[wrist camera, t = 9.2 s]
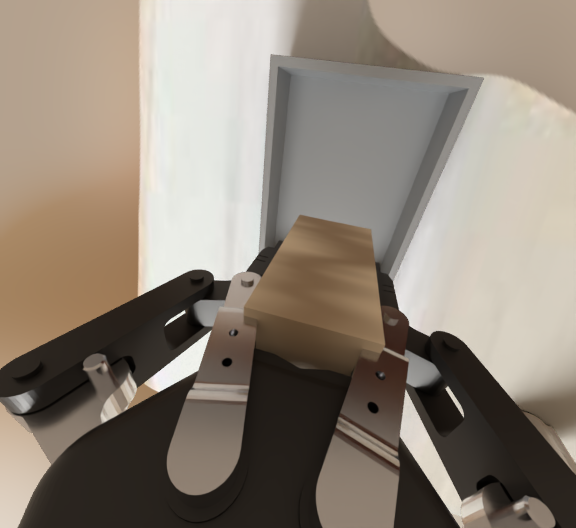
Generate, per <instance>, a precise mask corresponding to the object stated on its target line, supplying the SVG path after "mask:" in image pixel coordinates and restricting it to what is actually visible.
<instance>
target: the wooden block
mask: <svg viewBox="0 0 576 528" xmlns="http://www.w3.org/2000/svg"><path fill="white" fill-rule="evenodd" d="M244 316H247V317H251V318H255V319H258V322H257V336H256V349H260V350H263V351H266V352H270V353H273V354H276V355H278V356H279V357H281V358H283V359H285V360H286V361H288V362H290V363H292V364H293V365H295V366H297V367H299V368H303V369H320V370H331V371H334V372H337V373H341V374H344V375H348V376H350V375H351V373H352V371H353V368H354V366H355V364H356V362H357V359H358V357H359V355H360V353H361V351H362V348H363V349H366V350H370V351H373V352H377V353H381V352H382V350H383V348H384V346H385V339H384V331H383V323H382V315H381V307H380V298H379V290H378V282H377V274H376V266H375V257H374V249H373V241H372V233H371V229H367V228H362V227H357V226H353V225H348V224H343V223H338V222H333V221H328V220H323V219H319V218H314V217H309V216H304V215H299V217H298V218H297V220H296V221H295V223H294V225H293V226H292V228H291V230H290V231H289V233H288V235H287V236H286V238H285V240H284V241H283V243H282V245H281V246H280V248H279V249H278V251H277V253H276V254H275V256H274V258H273V259H272V261H271V263H270V264H269V266H268V268H267V269H266V271H265V273H264V274H263V276H262V278H261V279H260V281H259V282H258V284H257V286H256V287H255V289H254V291H253V292H252V294H251V296H250V297H249V299H248V301H247V302H246V304H245V306H244Z"/></svg>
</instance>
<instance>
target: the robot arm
mask: <svg viewBox="0 0 576 528" xmlns="http://www.w3.org/2000/svg"><path fill="white" fill-rule="evenodd" d="M282 243H283V241H281V240H279V241H278V243H277V244H276V246H275V247H274V248H273V247H269V246H268V247H266V248H264V249H263V250H261V252H260V253H259V254H258V256H257V257H256V259H255V260H254V261H253V263H252V264H251V265H250V267H249V268H248V270H247V271H246V272H241V273H238V274H236V275H235V276H234V277H233V278H232V280H231V281H215V280H214V277H213V274H212V273H210V272H209V271H206V270H192V271H189V272H187V273H185V274H183V275H181V276H179V277H177V278H175V279H173V280H171V281H169V282H167V283H165V284H163V285H161V286H159V287H157V288H155V289H153V290H151V291H149V292H147V293H145V294H143V295H141V296H139V297H137V298H135V299H133V300H131V301H129V302H127V303H125V304H123V305H121V306H119V307H117V308H115V309H113V310H111V311H109V312H107V313H105V314H103V315H101V316H99V317H97V318H95V319H93V320H91V321H90V322H87V323H85V324H83V325H81V326H79V327H77V328H75V329H73V330H71V331H69V332H67V333H65V334H64V335H61V336H59V337H57V338H55V339H54V340H51V341H49V342H48V343H46V344H43V345H41V346H39V347H38V348H36V349H34V350H32V351H30V352H28V353H26V354H24V355H22V356H20V357H18V358H16V359H14V360H13V361H11V362H9V363H8V364H6V365H5V366H4V367H3V368H1V370H0V402H1V403H2V404H3V405H4V406H5V407H6V410H7V412H8V413H9V414H10V415H11V416H12V417H13V418H15V420H16V421H18V422H19V423H20V424H21V425H22V426H23V427H24V428H25V429H26V430H27V431H28V432H30V433H33V435H34V436H35V438H36V440H37V441H38V443H39V445H40V446H41V448H42V450H43V451H44V453H45V454H46V456H47V458H48V460H49V461H50V463H51V467H50V468H49V469H48V470H47V472H46V473H45V474H44V476H43V477H42V479H41V480H40V482H39V484H38V485H37V487H36V489H35V491H34V492H33V495H32V497H31V499H30V501H29V504H28V506H27V508H26V510H25V513H24V515H23V518H22V520H21V522H20V524H19V526H18V528H460V527H459V525H458V524H457V522H456V521H455V519H454V518H453V516H452V514H451V513H450V511H449V510H448V508H447V507H446V505H445V504H444V502H443V501H442V499H441V498H440V496H439V495H438V493H437V492H436V490H435V489H434V487H433V486H432V484H431V483H430V481H429V480H428V478H427V477H426V475H425V474H424V472H423V471H422V469H421V468H420V466H419V465H418V463H417V462H416V460H415V459H414V457H413V456H412V454H411V453H410V451H409V450H408V448H407V447H406V445H405V444H404V442H403V441H402V439H401V438H400V429H401V421H402V413H403V405H404V397H405V389H406V390H407V392H408V394H409V396H410V398H411V400H412V402H413V404H414V406H415V408H416V410H417V412H418V414H419V416H420V418H421V420H422V422H423V424H424V426H425V428H426V430H427V432H428V434H429V436H430V438H431V440H432V442H433V444H434V446H435V448H436V450H437V452H438V454H439V456H440V458H441V460H442V462H443V464H444V466H445V468H446V470H447V472H448V474H449V476H450V478H451V480H452V482H453V484H454V486H455V488H456V490H457V492H458V494H459V496H460V498H461V500H462V505H461V517H462V522H463V527H462V528H576V463H575V462H574V460H573V458H572V457H571V455H570V454H569V452H568V451H567V449H566V447H565V446H564V444H563V443H562V441H561V439H560V438H559V436H558V435H557V433H556V432H555V430H554V428H553V427H551V426H548V425H545V424H544V423H543V421H542V420H541V419H539V418H538V417H536V416H534V415H532V414H530V413H527V412H523V411H521V409H520V408H519V407H518V406H517V405H516V403H515V402H514V401H513V400H512V399H511V398H510V396H509V395H508V394H507V393H506V392H505V390H504V389H503V388H502V387H501V386H500V384H499V383H498V382H497V381H496V380H495V379H494V377H493V376H492V375H491V374H490V373H489V371H488V370H487V369H486V368H485V367H484V365H483V364H482V363H481V362H480V361H479V360H478V358H477V357H476V356H475V355H474V354H473V352H472V351H471V350H470V349H469V348H468V347H467V345H466V344H465V343H464V342H463V341H461V340H460V339H459V338H457V337H456V336H454V335H452V334H449V333H447V332H443V331H436V332H433V333H432V334H431V336H430V337H429V336H427V335H425V334H423V333H421V332H419V331H417V330H415V329H413V328H412V327H410V326H409V321H408V319H407V317H406V316H405V315H404V314H403V313H402V312H401V311H399V308H398V303H397V299H396V294H395V290H394V285H393V280H392V279H391V278H390V277H389V275H388V274H386V273H381V271H380V264H379V262H375V266H376V274H377V282H378V290H379V298H380V307H381V315H382V323H383V331H384V339H385V346H384V348H383V350H382V352H381V353H377V352H373V351H370V350H366V349H363V348H362V351H361V353H360V355H359V357H358V359H357V362H356V364H355V366H354V368H353V371H352V373H351V375H350V376H348V375H344V374H341V373H337V372H334V371H331V370H320V369H303V368H299V367H297V366H295V365H293V364H292V363H290V362H288V361H286V360H285V359H283V358H281V357H279V356H278V355H276V354H273V353H270V352H266V351H263V350H260V349H256V336H257V322H258V319H255V318H251V317H247V316H244V306H245V304H246V302H247V301H248V299H249V297H250V296H251V294H252V292H253V291H254V289H255V287H256V286H257V284H258V282H259V281H260V279H261V278H262V276H263V274H264V273H265V271H266V269H267V268H268V266H269V264H270V263H271V261H272V259H273V258H274V256H275V254H276V253H277V251H278V249H279V248H280V246H281V245H282ZM184 310H185V312H186V313H185V314H183V315H182V316H180V317H179V318H177V319H176V320H174V321H172V322H171V323H169V324H168V325H166V326H165V324H166V323H167V322H168V321H169V320H170V319H171V318H173V317H174V316H176V315H178V314H179V313H181V312H182V311H184ZM164 326H165V327H164ZM211 330H212V331H211ZM210 331H211V334H210V337H209V340H208V343H207V346H206V349H205V352H204V355H203V358H202V361H201V364H200V367H199V371H197V372H195V373H193V374H192V375H190V376H188V377H186V378H184V379H182V380H181V381H179V382H177V383H175V384H173V385H171V386H170V387H168V388H166V389H164V390H162V391H160V392H159V393H157V394H155V395H153V396H151V397H150V398H148V399H146V400H144V401H142V402H141V403H139V404H137V405H135V406H133V407H131V408H130V409H128V410H127V408H128V405H129V403H130V402H131V401H132V400H133V398H134V396H135V394H136V389H137V388H138V387H139V386H140V385H142V384H143V383H144V382H146V381H147V380H148V379H149V378H151V377H152V376H153V375H155V374H156V373H157V372H158V371H160V370H161V369H162V368H164V367H165V366H166V365H167V364H169V363H170V362H171V361H172V360H174V359H175V358H176V357H178V356H179V355H180V354H181V353H183V352H184V351H185V350H187V349H188V348H189V347H190V346H192V345H193V344H194V343H195V342H197V341H198V340H199V339H201V338H202V337H203V336H204V335H206V334H207V333H208V332H210ZM447 386H449V388H450V389H451V391H452V392H453V394H454V396H455V397H456V399H457V400H458V402H459V403H460V405H461V406H462V409H463V412H464V418H463V416H462V414H461V413H460V411H459V410H458V408H457V407H456V405H455V403H454V402H453V400H452V399H451V397H450V396H449V394H448V393H447V391H446V389H445V388H446V387H447Z"/></svg>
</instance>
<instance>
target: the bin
mask: <svg viewBox="0 0 576 528" xmlns="http://www.w3.org/2000/svg"><path fill="white" fill-rule="evenodd" d="M483 80H484V78H482V77H473V76H464V75H455V74H446V73H437V72H428V71H418V70H409V69H400V68H391V67H382V66H373V65H364V64H354V63H345V62H336V61H327V60H318V59H309V58H300V57H291V56H281V55H272V54H271V58H270V74H269V91H268V108H267V124H266V141H265V158H264V174H263V191H262V207H261V224H260V241H259V253H260V252H261V250H263V249H264V248H266V247H268V246H269V247H273V248H274V247H275V246H276V244H277V243H278V241H279V240H281V241H284V240H285V238H286V236H287V235H288V233H289V231H290V230H291V228H292V226H293V225H294V223H295V221H296V220H297V218H298V217H299V215H304V216H309V217H314V218H319V219H323V220H328V221H333V222H338V223H343V224H348V225H353V226H357V227H362V228H367V229H371V233H372V241H373V249H374V257H375V262H379V264H380V271H381V273H386V274H388V275H389V277H390V278H391V279H392V280H394V278H395V275H396V273H397V271H398V269H399V267H400V264H401V262H402V260H403V258H404V255H405V253H406V251H407V249H408V247H409V244H410V242H411V240H412V238H413V235H414V233H415V231H416V229H417V227H418V224H419V222H420V220H421V218H422V215H423V213H424V211H425V209H426V207H427V204H428V202H429V200H430V198H431V195H432V193H433V191H434V189H435V187H436V184H437V182H438V180H439V178H440V175H441V173H442V171H443V169H444V167H445V164H446V162H447V160H448V158H449V155H450V153H451V151H452V149H453V147H454V144H455V142H456V140H457V138H458V135H459V133H460V131H461V129H462V127H463V124H464V122H465V120H466V118H467V115H468V113H469V111H470V109H471V107H472V104H473V102H474V100H475V98H476V95H477V93H478V91H479V89H480V87H481V84H482V82H483Z"/></svg>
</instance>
